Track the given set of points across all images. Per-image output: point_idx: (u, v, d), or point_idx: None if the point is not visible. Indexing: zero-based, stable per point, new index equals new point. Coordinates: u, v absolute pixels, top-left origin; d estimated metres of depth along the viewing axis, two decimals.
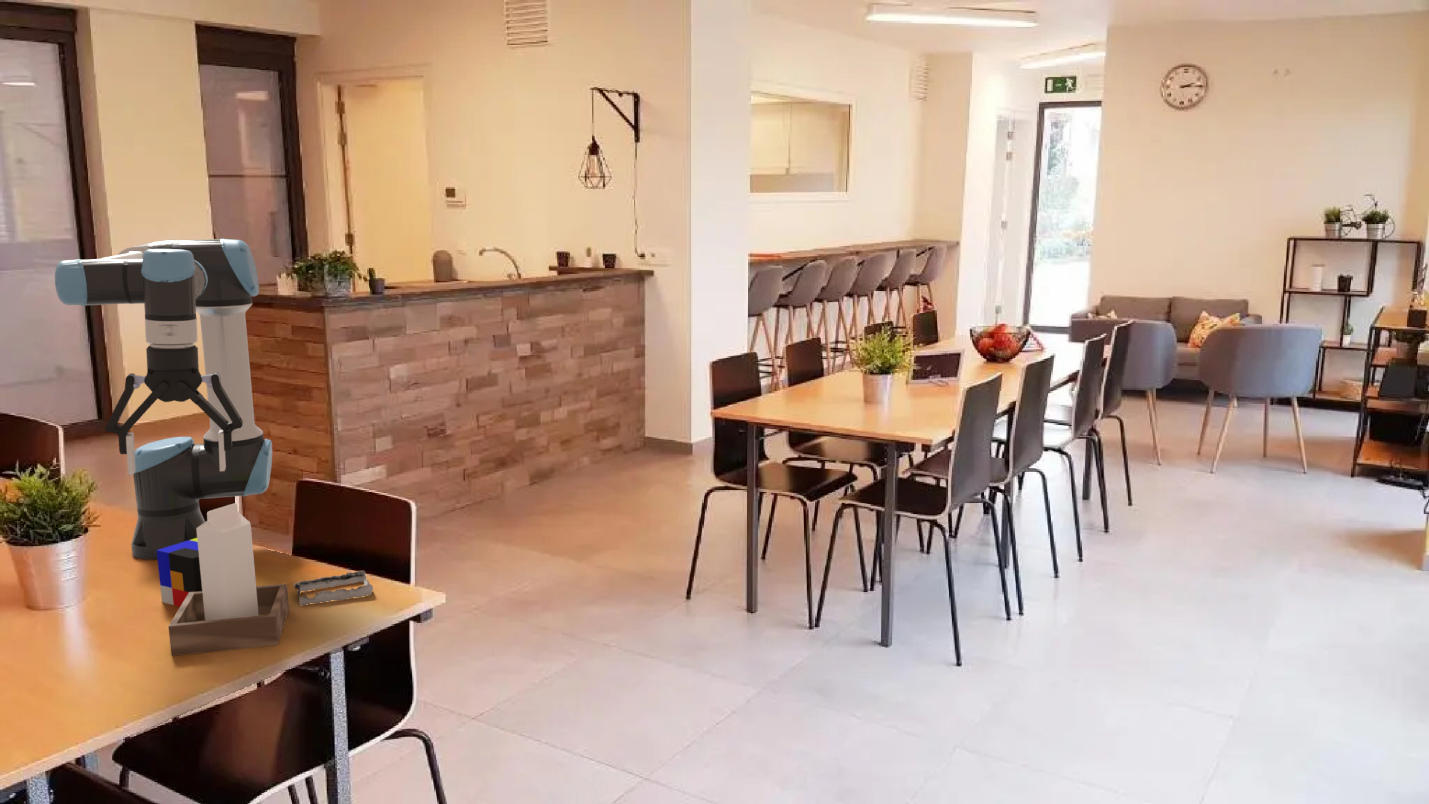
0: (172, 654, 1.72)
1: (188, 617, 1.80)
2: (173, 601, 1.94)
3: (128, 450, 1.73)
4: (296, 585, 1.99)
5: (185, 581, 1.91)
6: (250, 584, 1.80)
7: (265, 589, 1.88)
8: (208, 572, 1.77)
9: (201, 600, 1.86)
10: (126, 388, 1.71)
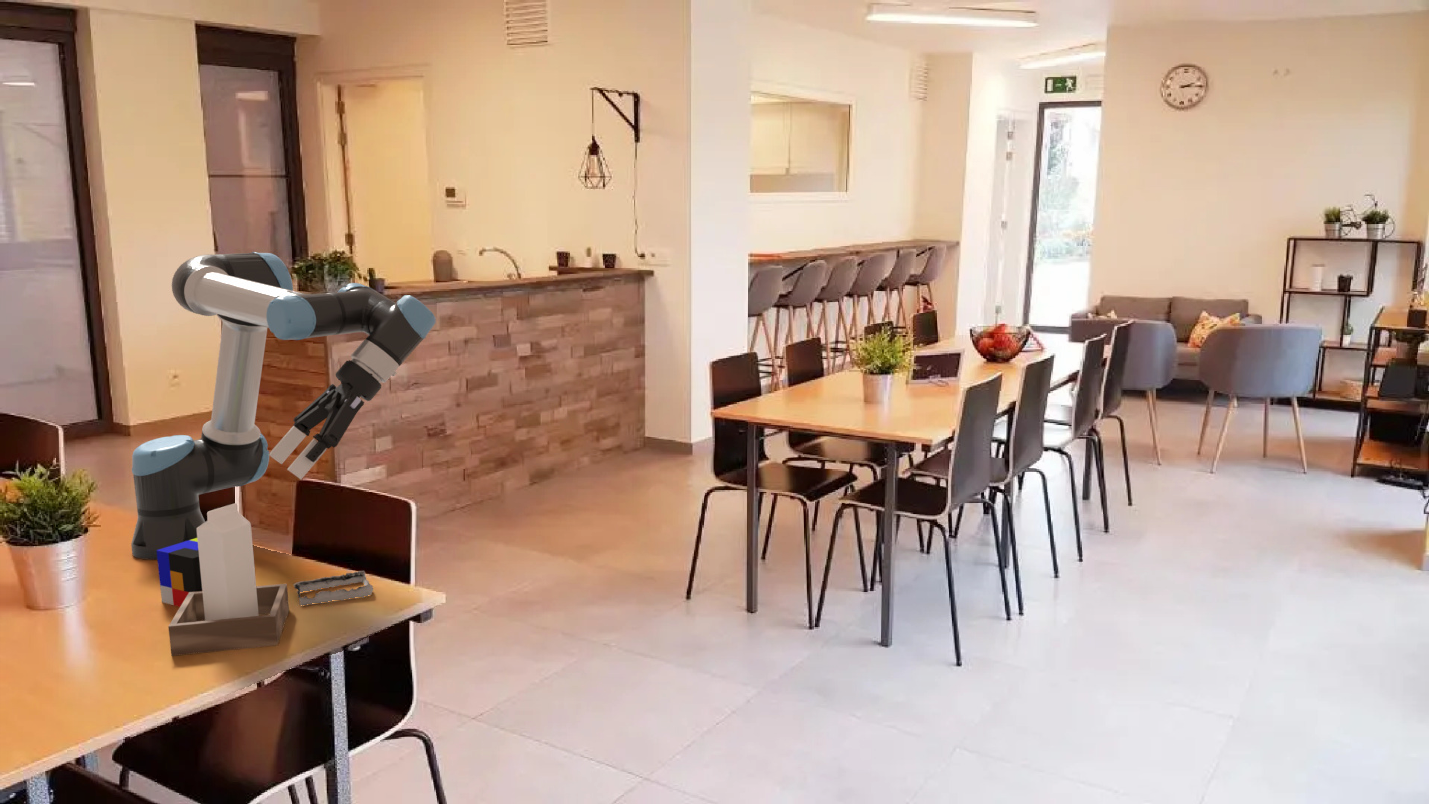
0: (172, 654, 1.72)
1: (188, 617, 1.80)
2: (173, 601, 1.94)
3: (317, 459, 1.78)
4: (296, 585, 1.99)
5: (185, 581, 1.91)
6: (250, 584, 1.80)
7: (265, 589, 1.88)
8: (208, 572, 1.77)
9: (201, 600, 1.86)
10: (357, 411, 1.81)
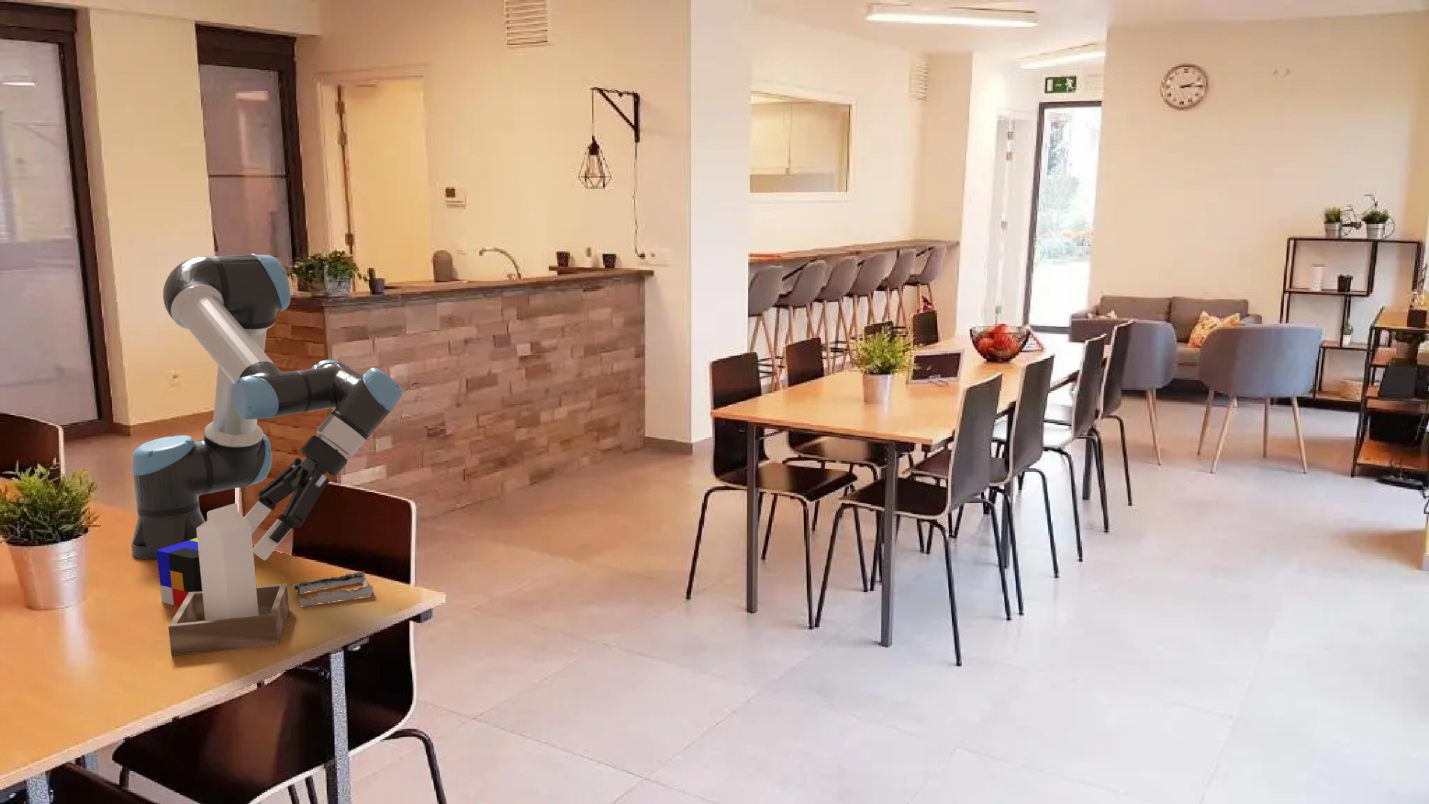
0: (172, 654, 1.72)
1: (188, 617, 1.80)
2: (173, 601, 1.94)
3: (281, 540, 1.76)
4: (296, 586, 1.98)
5: (185, 581, 1.91)
6: (250, 584, 1.80)
7: (265, 589, 1.88)
8: (208, 572, 1.77)
9: (201, 600, 1.86)
10: (322, 489, 1.79)
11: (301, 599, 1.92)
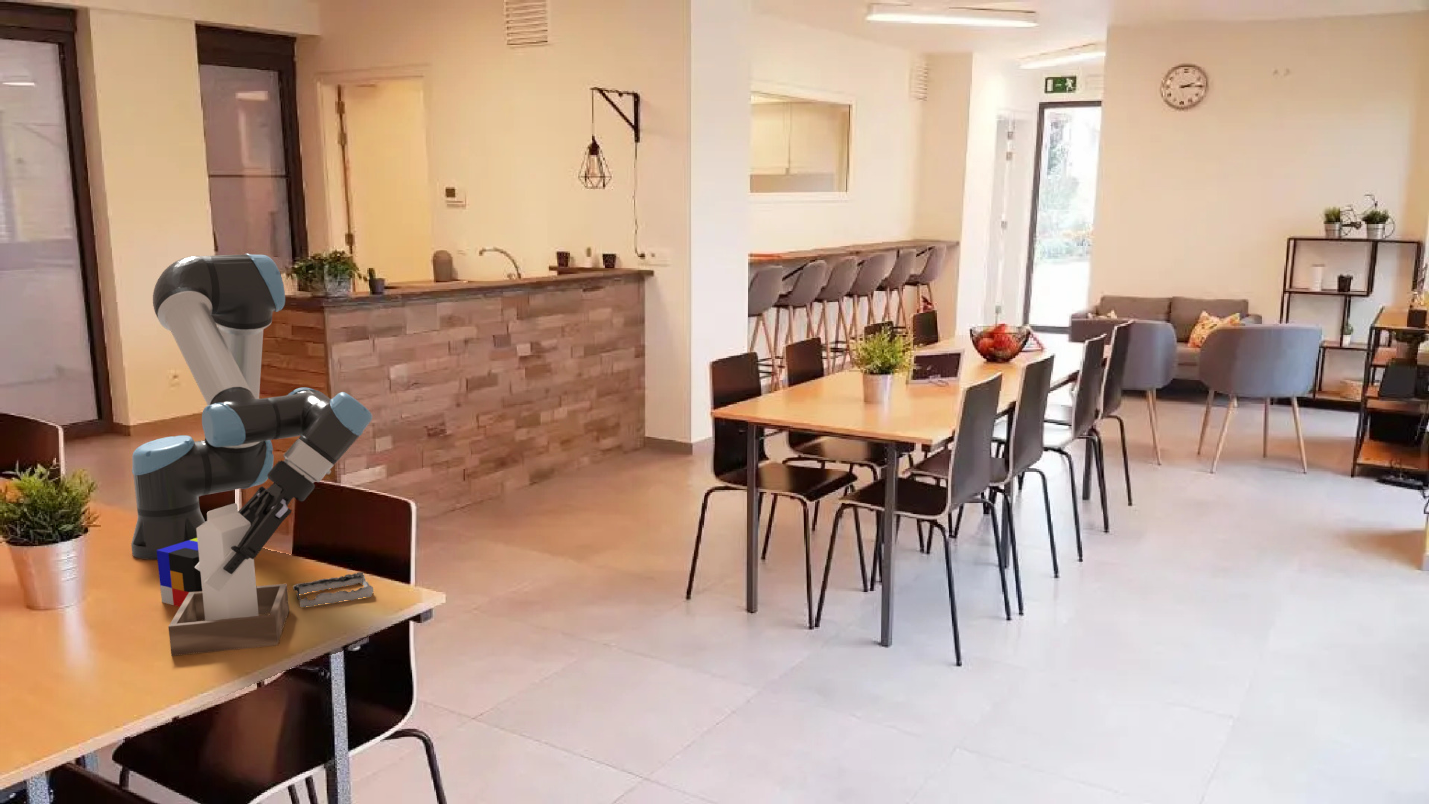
0: (172, 654, 1.72)
1: (188, 617, 1.80)
2: (173, 601, 1.94)
3: (236, 570, 1.76)
4: (295, 587, 1.98)
5: (185, 581, 1.91)
6: (250, 584, 1.80)
7: (265, 589, 1.88)
8: (208, 572, 1.77)
9: (201, 600, 1.86)
10: (282, 520, 1.77)
11: (301, 600, 1.92)
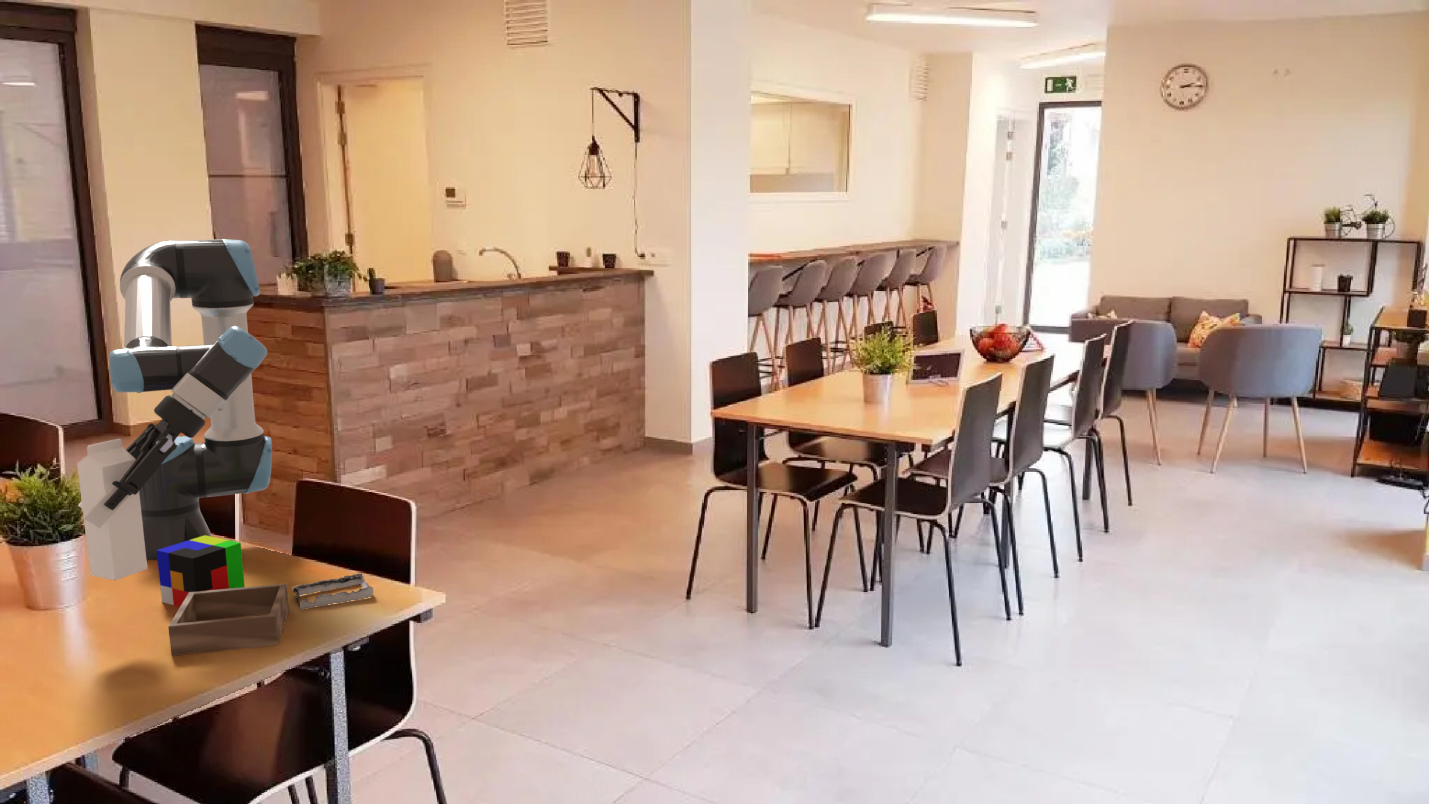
0: (172, 654, 1.72)
1: (188, 617, 1.80)
2: (173, 601, 1.94)
3: None
4: (294, 589, 1.97)
5: (185, 581, 1.91)
6: (136, 522, 1.74)
7: (265, 589, 1.88)
8: (90, 509, 1.71)
9: (201, 600, 1.86)
10: (167, 455, 1.71)
11: (301, 601, 1.91)
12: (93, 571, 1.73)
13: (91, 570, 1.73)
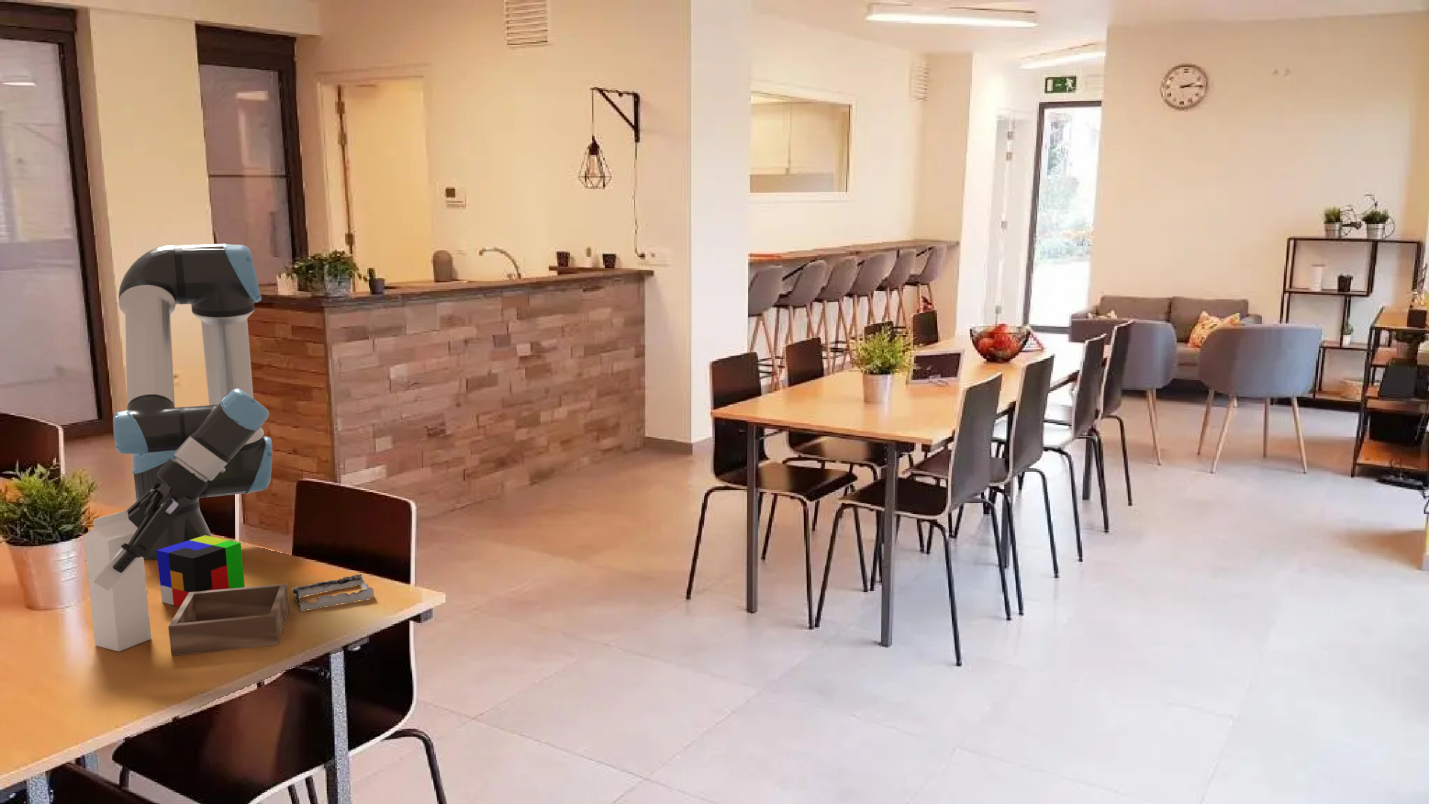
0: (172, 654, 1.72)
1: (188, 617, 1.80)
2: (173, 601, 1.94)
3: None
4: (294, 590, 1.96)
5: (185, 581, 1.91)
6: (140, 593, 1.76)
7: (265, 589, 1.88)
8: None
9: (201, 600, 1.86)
10: (173, 517, 1.73)
11: (302, 603, 1.91)
12: (97, 641, 1.75)
13: (95, 640, 1.76)
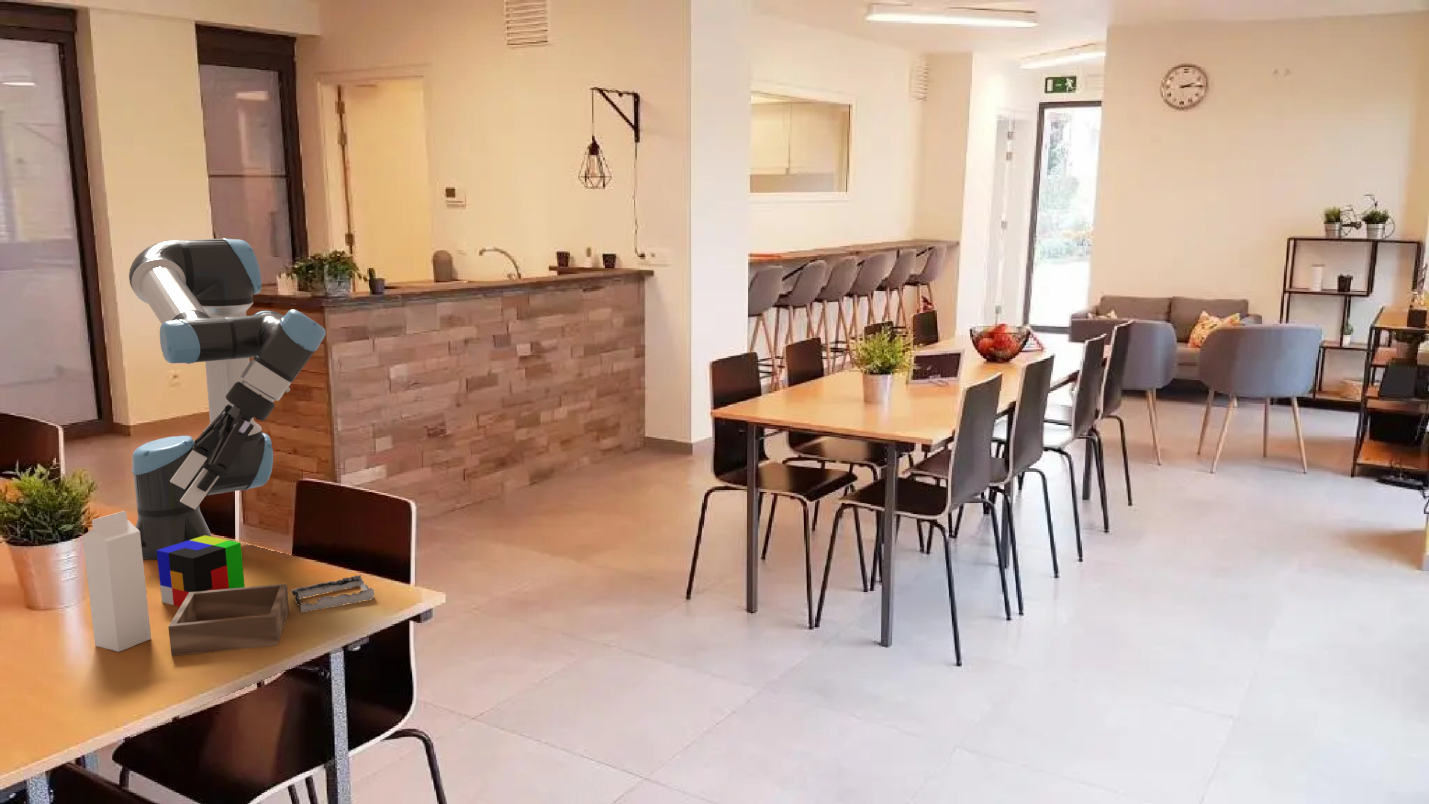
0: (172, 654, 1.72)
1: (188, 617, 1.80)
2: (173, 601, 1.94)
3: (210, 488, 1.77)
4: (293, 592, 1.95)
5: (185, 581, 1.91)
6: (140, 594, 1.76)
7: (265, 589, 1.88)
8: (94, 581, 1.73)
9: (201, 600, 1.86)
10: (247, 435, 1.79)
11: (302, 604, 1.90)
12: (97, 642, 1.75)
13: (95, 640, 1.76)
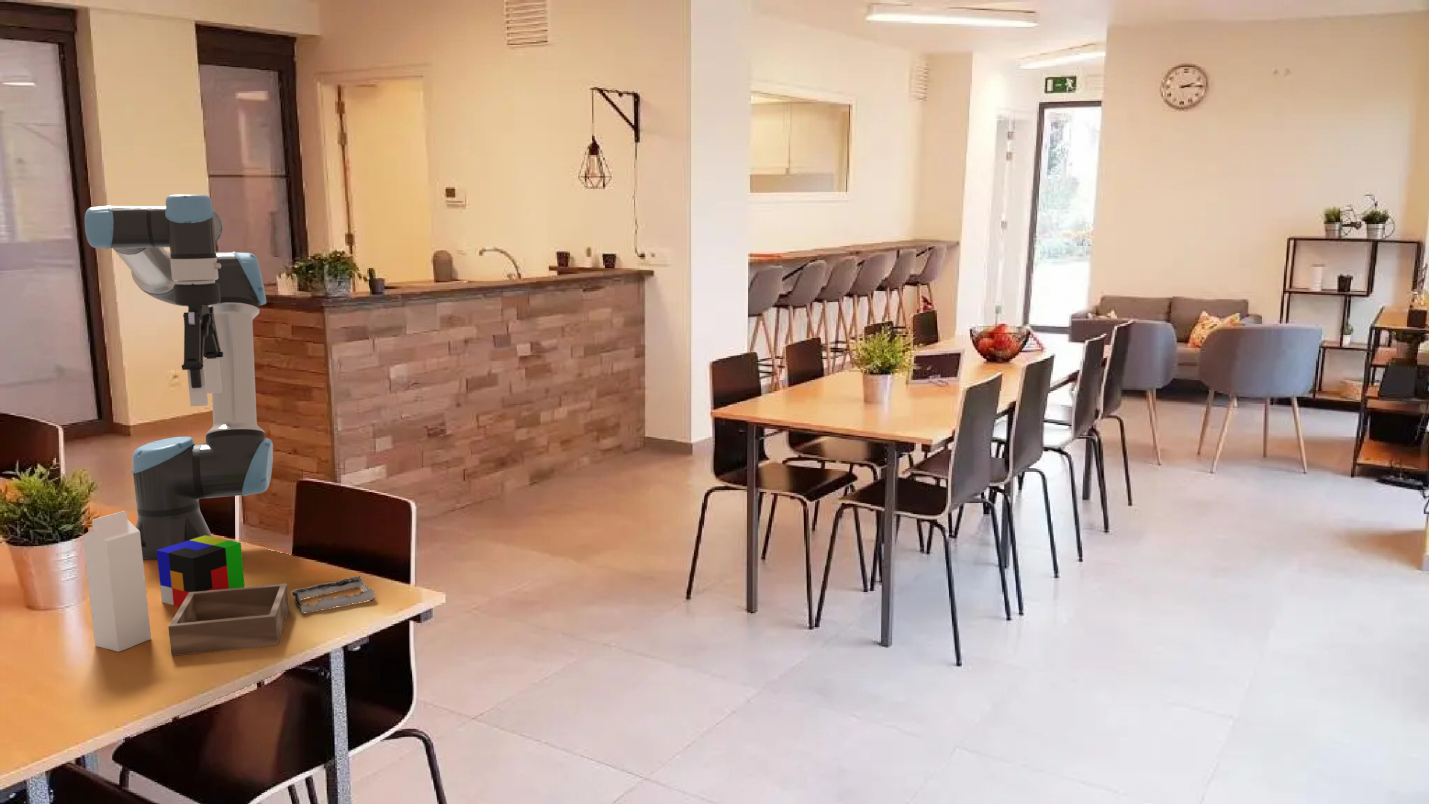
0: (172, 654, 1.72)
1: (188, 617, 1.80)
2: (173, 601, 1.94)
3: (205, 382, 1.88)
4: (293, 593, 1.95)
5: (185, 581, 1.91)
6: (140, 594, 1.76)
7: (265, 589, 1.88)
8: (94, 581, 1.73)
9: (201, 600, 1.86)
10: (199, 324, 1.86)
11: (303, 605, 1.89)
12: (97, 642, 1.75)
13: (95, 640, 1.76)
